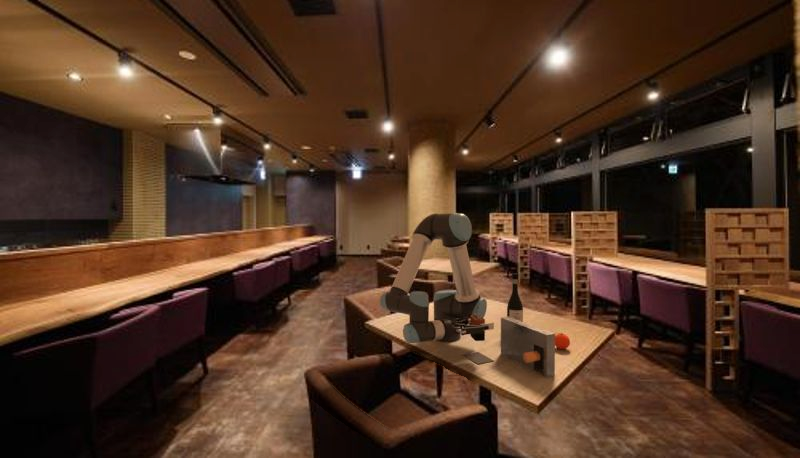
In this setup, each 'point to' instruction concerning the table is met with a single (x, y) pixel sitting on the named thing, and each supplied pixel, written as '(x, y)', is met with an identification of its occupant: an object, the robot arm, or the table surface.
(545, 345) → the panel
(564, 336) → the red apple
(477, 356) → the mat
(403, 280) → the robot arm
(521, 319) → the wine bottle
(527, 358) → the orange rounded cylinder
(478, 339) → the battery
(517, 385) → the table surface
